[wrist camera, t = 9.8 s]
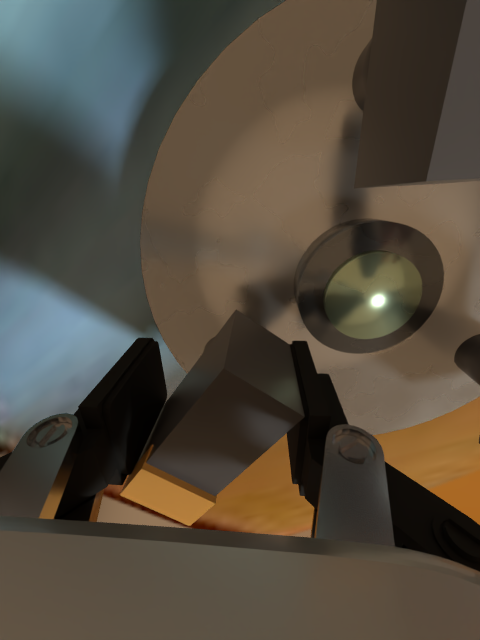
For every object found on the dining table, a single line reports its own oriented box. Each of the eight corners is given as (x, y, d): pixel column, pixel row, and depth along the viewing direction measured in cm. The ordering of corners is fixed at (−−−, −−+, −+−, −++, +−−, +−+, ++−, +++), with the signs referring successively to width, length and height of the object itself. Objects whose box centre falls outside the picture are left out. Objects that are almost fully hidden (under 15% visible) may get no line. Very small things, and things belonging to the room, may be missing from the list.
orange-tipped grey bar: (408, 186, 9) (611, 170, 4) (333, 190, 9) (429, 180, 4) (463, -89, 6) (1323, -1293, 1) (357, -74, 7) (716, -1059, 1)
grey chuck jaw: (238, 290, 11) (220, 372, 6) (285, 321, 11) (307, 424, 6) (172, 381, 13) (117, 498, 8) (213, 404, 14) (186, 528, 9)
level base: (212, 425, 18) (200, 482, 14) (92, 98, 10) (5, 46, 7) (513, 390, 15) (593, 450, 11) (639, -90, 8) (972, -342, 4)
